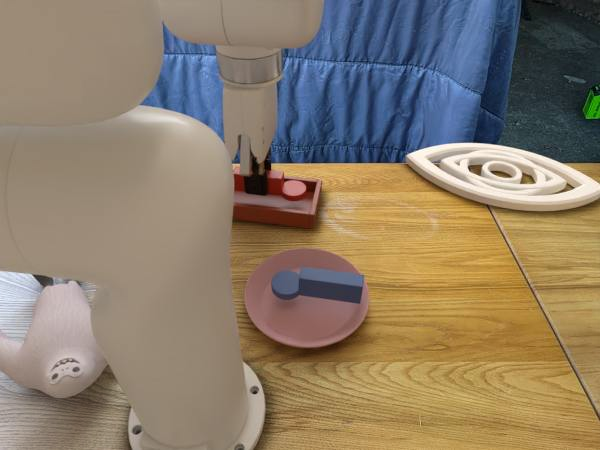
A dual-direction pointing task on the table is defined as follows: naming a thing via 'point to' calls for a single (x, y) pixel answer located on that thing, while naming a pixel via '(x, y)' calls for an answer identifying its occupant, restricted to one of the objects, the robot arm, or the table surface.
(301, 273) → the blue spoon
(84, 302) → the yeti figurine
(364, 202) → the table surface
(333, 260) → the plate
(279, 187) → the red spoon
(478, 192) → the decorative sculpture
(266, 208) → the tray
